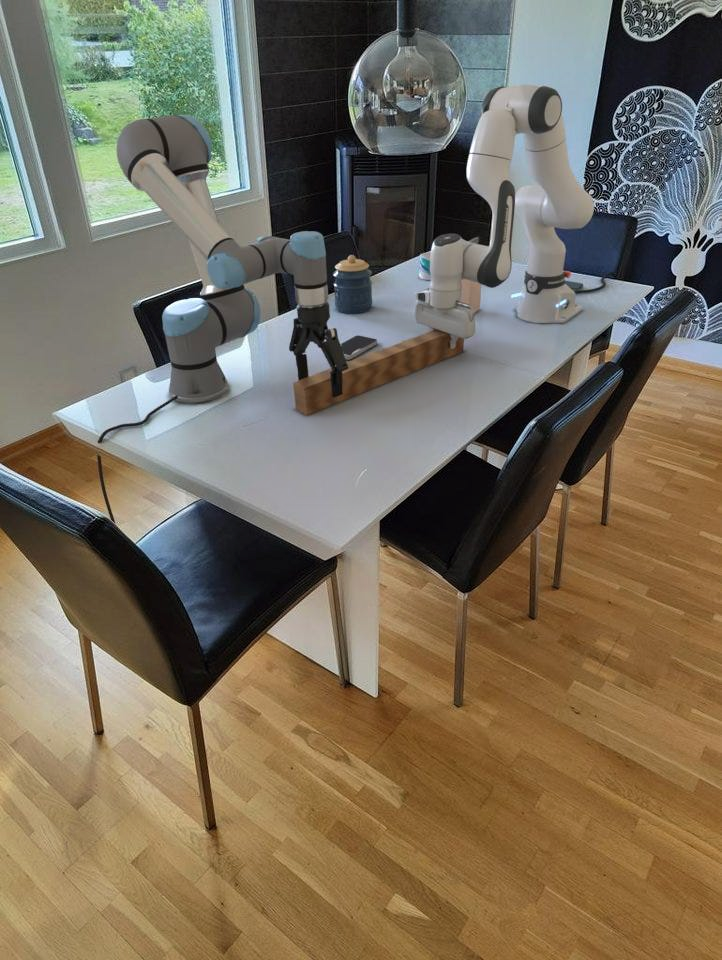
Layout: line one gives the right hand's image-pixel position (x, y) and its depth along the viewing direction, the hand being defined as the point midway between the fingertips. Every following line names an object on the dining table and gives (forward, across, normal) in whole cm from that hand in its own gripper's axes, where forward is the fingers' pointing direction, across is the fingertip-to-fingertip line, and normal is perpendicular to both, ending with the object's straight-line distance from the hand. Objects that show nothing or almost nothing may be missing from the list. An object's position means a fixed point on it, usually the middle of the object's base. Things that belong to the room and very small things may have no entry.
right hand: (443, 345), depth 191 cm
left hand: (-2, 0, +45) cm, 45 cm away
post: (+3, 0, +22) cm, 23 cm away
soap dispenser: (+3, +21, -34) cm, 40 cm away
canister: (+3, +50, -9) cm, 51 cm away
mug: (+3, +57, -54) cm, 79 cm away
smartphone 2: (+3, +13, -75) cm, 76 cm away
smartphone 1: (+3, +22, +16) cm, 27 cm away
